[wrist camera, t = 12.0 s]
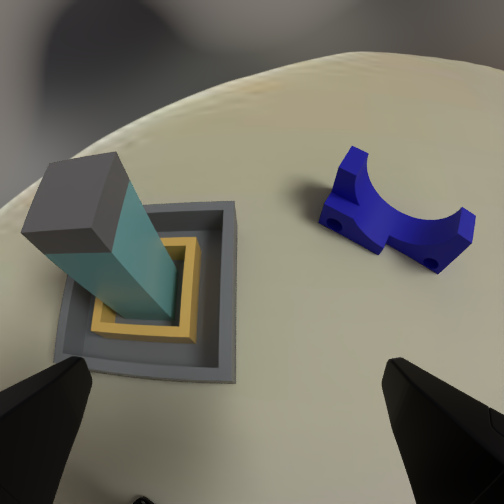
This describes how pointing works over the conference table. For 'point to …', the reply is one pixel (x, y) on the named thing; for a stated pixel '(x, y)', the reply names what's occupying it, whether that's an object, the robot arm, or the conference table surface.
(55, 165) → the plug
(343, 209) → the cable clip
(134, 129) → the conference table surface
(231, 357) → the socket box
